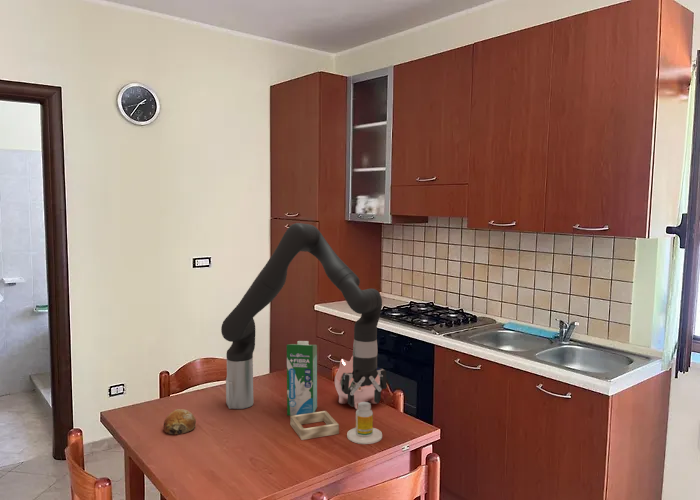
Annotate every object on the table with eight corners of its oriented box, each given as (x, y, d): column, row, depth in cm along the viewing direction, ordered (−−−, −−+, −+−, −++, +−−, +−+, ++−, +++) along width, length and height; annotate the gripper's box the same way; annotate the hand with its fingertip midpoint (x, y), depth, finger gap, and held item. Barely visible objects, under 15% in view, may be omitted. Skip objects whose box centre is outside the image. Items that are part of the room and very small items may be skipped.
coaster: (355, 446, 167) (355, 444, 167) (341, 432, 177) (341, 429, 177) (388, 440, 171) (388, 438, 171) (373, 426, 181) (373, 424, 181)
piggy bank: (353, 390, 215) (353, 350, 214) (388, 402, 203) (389, 360, 201) (324, 401, 204) (324, 358, 203) (360, 414, 192) (360, 369, 190)
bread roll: (198, 438, 181) (205, 413, 183) (178, 436, 172) (185, 410, 174) (175, 433, 185) (181, 408, 187) (154, 431, 176) (161, 405, 178)
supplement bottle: (352, 432, 175) (352, 402, 174) (367, 429, 178) (367, 399, 177) (360, 438, 170) (360, 408, 170) (375, 435, 173) (376, 405, 172)
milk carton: (317, 406, 199) (317, 338, 196) (313, 416, 190) (312, 345, 187) (292, 405, 199) (291, 337, 197) (287, 415, 190) (286, 344, 188)
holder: (301, 440, 171) (301, 430, 171) (290, 424, 183) (290, 415, 182) (338, 433, 176) (338, 424, 176) (325, 419, 187) (325, 410, 187)
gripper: (380, 348, 178) (379, 397, 179) (339, 352, 172) (338, 402, 174) (391, 354, 171) (390, 405, 172) (348, 359, 165) (347, 411, 167)
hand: (364, 404), depth 173 cm, fingers open, 8 cm apart
